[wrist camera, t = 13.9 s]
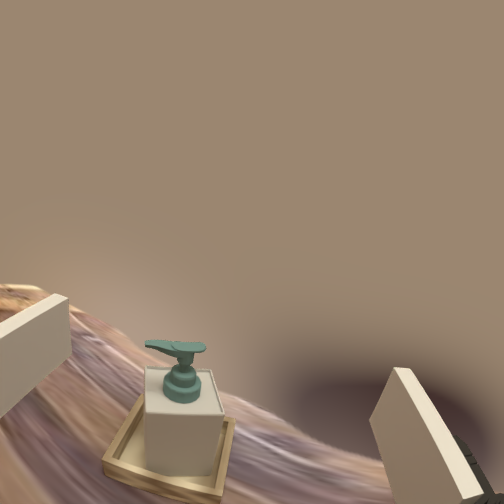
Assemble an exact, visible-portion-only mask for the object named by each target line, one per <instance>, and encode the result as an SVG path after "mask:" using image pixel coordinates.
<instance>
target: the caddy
mask: <svg viewBox="0 0 504 504" xmlns="http://www.w3.org/2000/svg"><path fill="white" fill-rule="evenodd" d="M235 422H236V419H234V418H230V417H225V416H224V421H223V425H222V429H221V434H220V438H219V442H218V446H217V451H216V455H215V459H214V463H213V468H212V472H211V475H209V476H164V475H161V474H157V473H154V472H151V471H148V470H146V465H145V449H144V394H141V395H140V396H139V398H138V400H137V401H136V403H135V405H134V406H133V408H132V410H131V411H130V413H129V414H128V416H127V418H126V419H125V421H124V423H123V424H122V426H121V428H120V429H119V431H118V433H117V434H116V436H115V438H114V439H113V441H112V443H111V444H110V446H109V448H108V449H107V451H106V453H105V454H104V456H103V458H102V459H101V460H102V464H103V469H104V473H105V476H107V477H110V478H112V479H115V480H117V481H120V482H123V483H125V484H128V485H131V486H133V487H136V488H139V489H142V490H145V491H148V492H151V493H154V494H157V495H160V496H164V497H167V498H171V499H174V500H178V501H182V502H185V503H189V504H220V501H221V498H222V493H223V488H224V483H225V477H226V472H227V466H228V461H229V455H230V450H231V444H232V439H233V433H234V427H235Z"/></svg>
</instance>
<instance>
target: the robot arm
mask: <svg viewBox="0 0 504 504" xmlns="http://www.w3.org/2000/svg"><path fill="white" fill-rule="evenodd" d="M68 301H69V298H67V297H64V296H61V295H59V294H56V293H55V294H53V295H51V296H49V297H47V298H45V299H43V300H41V301H40V302H38V303H36V304H34V305H32V306H30V307H28V308H27V309H25V310H23V311H21V312H19V313H17V314H16V315H14V316H12V317H10V318H8V319H7V320H5V321H3V322H1V323H0V418H1V417H2V416H3V415H4V414H6V413H7V412H8V411H9V410H10V409H11V408H12V407H13V406H14V405H15V404H16V403H18V402H19V401H20V400H21V399H22V398H23V397H24V396H25V395H26V394H27V393H29V392H30V391H31V390H32V389H33V388H34V387H35V386H36V385H38V384H39V383H40V382H41V381H42V380H43V379H44V378H45V377H47V376H48V375H49V374H50V373H51V372H52V371H53V370H55V369H56V368H57V367H58V366H59V365H60V364H61V363H63V362H64V361H65V360H66V359H67V358H68V357H69V356H71V355H72V347H71V336H70V321H69V302H68ZM369 421H370V424H371V427H372V430H373V433H374V436H375V439H376V442H377V445H378V448H379V451H380V455H381V458H382V461H383V464H384V467H385V470H386V474H387V477H388V480H389V484H390V487H391V490H392V494H393V497H394V501H395V504H504V494H502V493H499V494H495V493H494V491H493V489H492V488H491V486H490V484H489V482H488V480H487V479H486V477H485V475H484V473H483V472H482V470H481V468H480V466H479V465H477V461H476V460H475V458H474V457H473V456H472V453H471V451H470V449H469V448H468V446H467V444H466V443H465V442H463V441H462V440H461V439H460V438H459V437H458V436H452V435H451V433H450V432H449V430H448V428H447V427H446V425H445V423H444V422H443V420H442V418H441V417H440V415H439V413H438V412H437V410H436V408H435V407H434V405H433V404H432V402H431V400H430V399H429V397H428V396H427V394H426V393H425V391H424V389H423V388H422V387H421V385H420V383H419V382H418V380H417V379H416V377H415V375H414V374H413V372H412V371H411V369H407V368H396V367H394V368H393V370H392V373H391V375H390V377H389V380H388V382H387V384H386V386H385V388H384V391H383V393H382V395H381V398H380V399H379V401H378V403H377V406H376V408H375V410H374V412H373V414H372V416H371V418H370V419H369Z"/></svg>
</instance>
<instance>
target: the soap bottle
mask: <svg viewBox="0 0 504 504" xmlns="http://www.w3.org/2000/svg"><path fill="white" fill-rule="evenodd" d="M145 347H147V348H153V349H156V350H158V351H161V352H163V353H165V354H167V355H170V356H173V357H176V358H177V361H178V362H179V364H177V365H174V366H173V367H160V366H148V365H146V366H145V369H144V449H145V465H146V470H148V471H151V472H154V473H157V474H161V475H164V476H209V475H211V472H212V468H213V463H214V459H215V455H216V451H217V446H218V442H219V438H220V434H221V429H222V425H223V421H224V416H225V412H224V409H223V406H222V403H221V400H220V397H219V394H218V390H217V387H216V384H215V381H214V378H213V374H212V371H211V370H210V369H194V368H193V367H192V366H190V365H191V364H192V363H193V358H194V353H201V352H204V351H205V350H206V346H205V344H204V343H201V342H179V341H174V342H172V341H164V340H148V341H145Z"/></svg>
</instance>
